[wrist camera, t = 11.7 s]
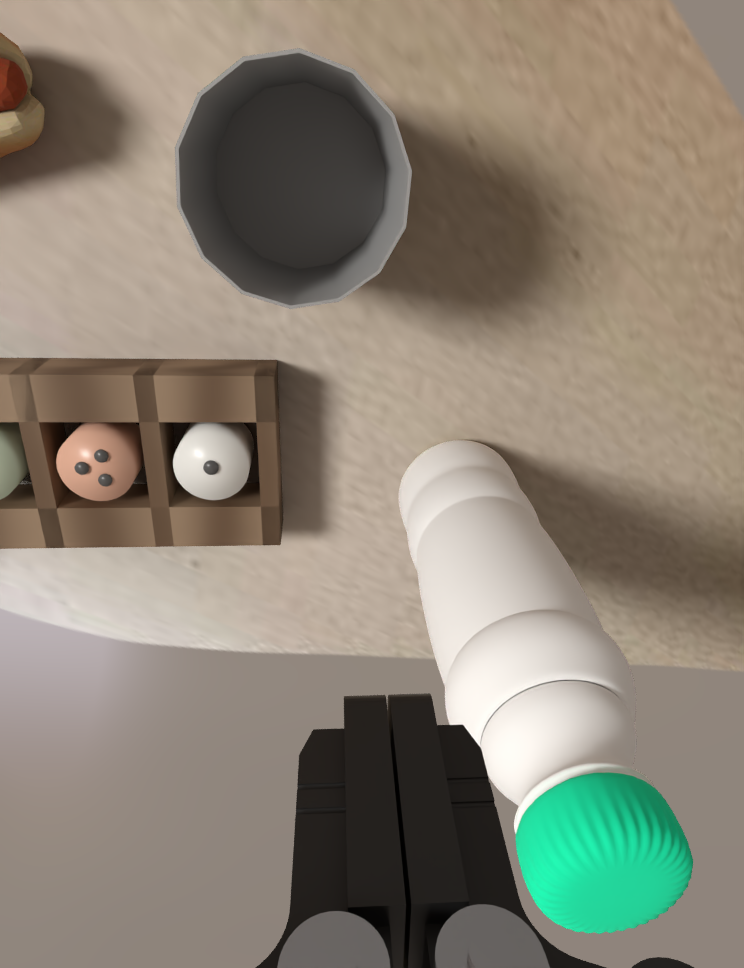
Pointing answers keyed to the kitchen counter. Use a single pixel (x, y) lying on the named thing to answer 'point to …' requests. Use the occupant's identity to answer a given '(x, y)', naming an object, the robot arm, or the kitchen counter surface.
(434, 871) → the robot arm
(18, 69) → the food
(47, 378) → the wooden compartment tray
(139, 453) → the button three
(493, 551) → the water bottle
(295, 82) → the cup
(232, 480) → the button one
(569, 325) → the kitchen counter surface
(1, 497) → the button two
